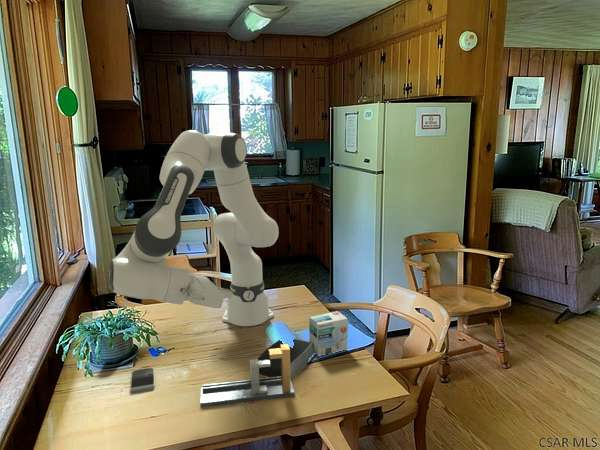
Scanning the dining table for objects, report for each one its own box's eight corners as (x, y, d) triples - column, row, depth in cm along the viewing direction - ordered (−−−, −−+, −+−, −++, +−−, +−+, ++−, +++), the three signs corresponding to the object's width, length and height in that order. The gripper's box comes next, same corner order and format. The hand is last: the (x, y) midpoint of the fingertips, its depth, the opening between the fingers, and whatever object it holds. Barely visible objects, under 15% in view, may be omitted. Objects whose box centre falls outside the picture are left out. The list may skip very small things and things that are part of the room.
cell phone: (154, 371, 131) (154, 366, 131) (154, 391, 121) (154, 387, 121) (132, 374, 129) (131, 370, 129) (130, 396, 119) (129, 391, 119)
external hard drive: (319, 353, 140) (319, 341, 140) (288, 384, 124) (288, 371, 123) (282, 344, 146) (282, 333, 146) (249, 373, 130) (248, 360, 129)
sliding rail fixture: (201, 391, 120) (198, 346, 117) (290, 381, 124) (289, 337, 121) (200, 407, 113) (197, 359, 110) (294, 396, 117) (294, 349, 115)
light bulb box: (317, 357, 137) (317, 324, 135) (308, 348, 143) (308, 316, 141) (348, 350, 141) (348, 318, 139) (338, 341, 147) (338, 310, 145)
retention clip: (251, 389, 118) (250, 359, 116) (270, 387, 119) (269, 357, 117) (251, 395, 116) (250, 364, 114) (271, 392, 117) (270, 362, 115)
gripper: (188, 282, 101) (245, 292, 107) (174, 265, 120) (223, 274, 126) (181, 310, 101) (239, 318, 107) (168, 288, 120) (218, 296, 126)
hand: (230, 294), depth 117 cm, fingers closed
